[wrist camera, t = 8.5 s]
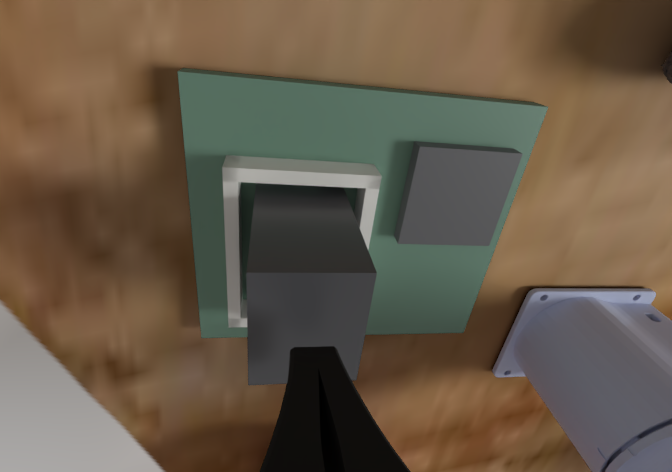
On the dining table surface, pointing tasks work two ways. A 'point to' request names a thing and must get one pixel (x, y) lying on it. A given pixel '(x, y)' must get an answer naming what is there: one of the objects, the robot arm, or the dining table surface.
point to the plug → (305, 279)
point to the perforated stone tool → (668, 67)
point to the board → (355, 185)
